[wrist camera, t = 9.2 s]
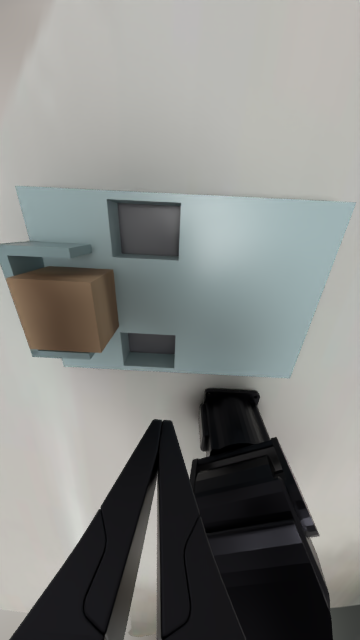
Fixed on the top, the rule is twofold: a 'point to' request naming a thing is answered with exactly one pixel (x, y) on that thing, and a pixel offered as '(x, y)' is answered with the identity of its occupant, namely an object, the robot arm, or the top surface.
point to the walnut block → (66, 307)
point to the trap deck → (189, 273)
